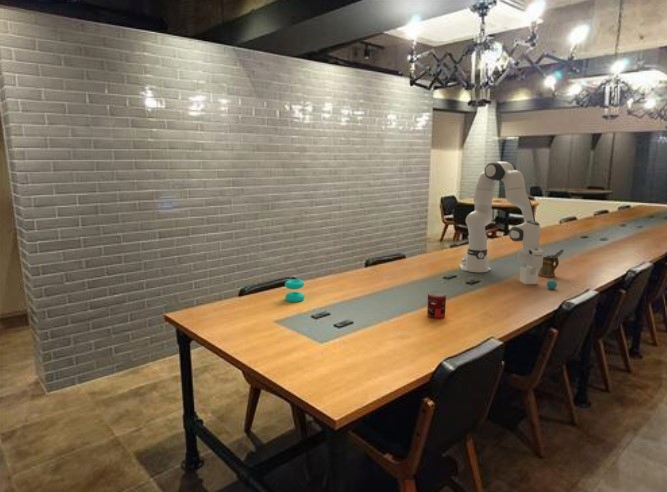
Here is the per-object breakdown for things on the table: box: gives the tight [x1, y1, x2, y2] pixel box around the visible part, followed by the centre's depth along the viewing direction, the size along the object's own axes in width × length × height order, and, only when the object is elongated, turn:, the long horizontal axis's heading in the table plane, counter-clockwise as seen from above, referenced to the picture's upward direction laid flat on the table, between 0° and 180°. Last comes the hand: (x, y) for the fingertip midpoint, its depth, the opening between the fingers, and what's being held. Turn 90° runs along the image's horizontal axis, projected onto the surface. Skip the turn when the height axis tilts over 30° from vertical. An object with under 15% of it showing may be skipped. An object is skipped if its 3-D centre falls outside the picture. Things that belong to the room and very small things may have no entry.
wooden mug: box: [538, 248, 564, 278], centre depth 267 cm, size 9×14×18 cm, turn 35°
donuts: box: [284, 278, 306, 303], centre depth 228 cm, size 10×10×10 cm
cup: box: [519, 265, 539, 285], centre depth 255 cm, size 7×7×9 cm
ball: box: [546, 279, 558, 290], centre depth 242 cm, size 5×5×5 cm
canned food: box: [426, 290, 447, 320], centre depth 201 cm, size 8×8×11 cm
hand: (529, 272), depth 255 cm, fingers open, 7 cm apart
